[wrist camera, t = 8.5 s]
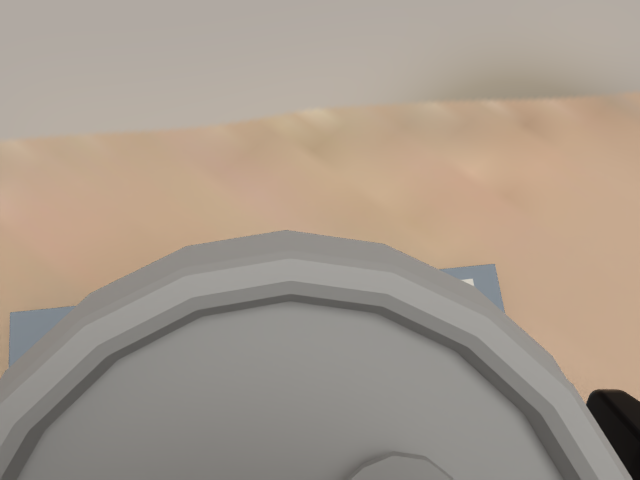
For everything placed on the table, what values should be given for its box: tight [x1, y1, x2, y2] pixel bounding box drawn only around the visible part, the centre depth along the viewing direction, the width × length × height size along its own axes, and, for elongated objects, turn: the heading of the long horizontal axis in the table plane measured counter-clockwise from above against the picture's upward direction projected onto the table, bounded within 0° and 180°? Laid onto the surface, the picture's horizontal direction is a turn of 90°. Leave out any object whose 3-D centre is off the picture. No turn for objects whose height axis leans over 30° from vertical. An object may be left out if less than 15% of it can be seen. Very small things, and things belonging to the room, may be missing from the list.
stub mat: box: [9, 264, 505, 367], centre depth 16 cm, size 14×10×1 cm
